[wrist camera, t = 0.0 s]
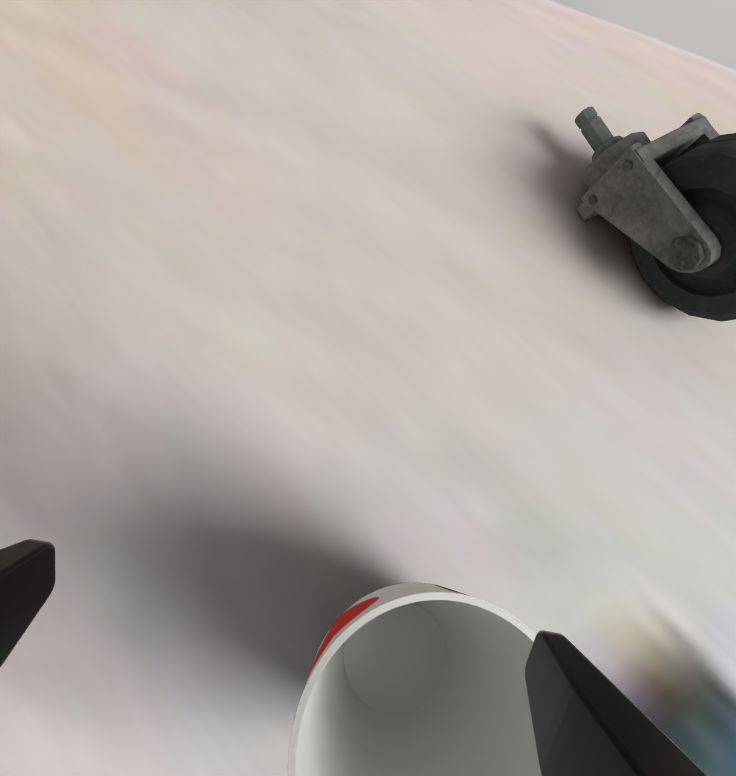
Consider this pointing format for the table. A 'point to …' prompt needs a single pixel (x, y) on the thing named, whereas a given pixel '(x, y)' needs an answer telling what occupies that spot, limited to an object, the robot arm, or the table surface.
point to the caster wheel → (670, 208)
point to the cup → (417, 690)
